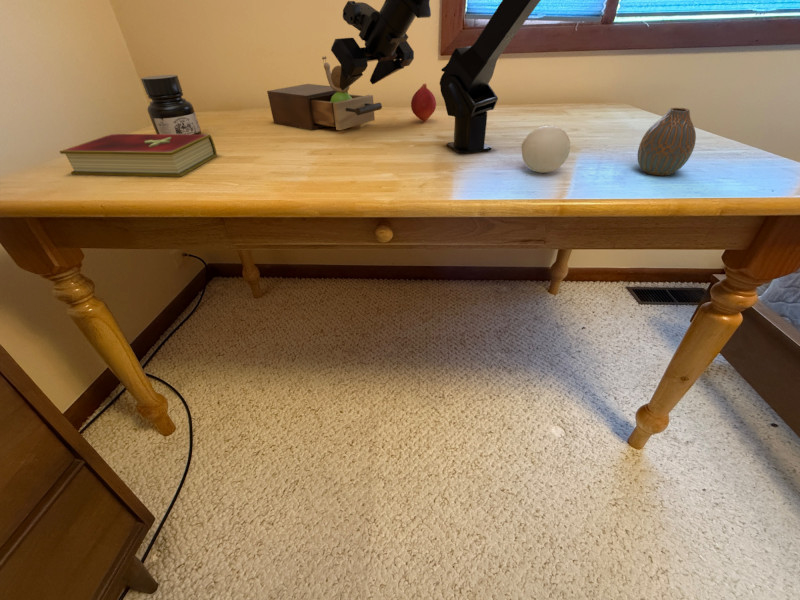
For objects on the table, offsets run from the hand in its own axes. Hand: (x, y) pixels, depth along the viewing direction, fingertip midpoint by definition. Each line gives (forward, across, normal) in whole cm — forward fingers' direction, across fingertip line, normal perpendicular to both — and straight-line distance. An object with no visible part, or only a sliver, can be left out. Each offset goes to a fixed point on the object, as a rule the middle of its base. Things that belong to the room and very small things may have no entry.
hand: (357, 85), depth 81 cm
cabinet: (+18, 0, -6) cm, 19 cm away
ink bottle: (+28, +27, -15) cm, 41 cm away
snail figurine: (+9, 0, +1) cm, 9 cm away
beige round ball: (-25, +5, +38) cm, 45 cm away
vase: (-35, -4, +48) cm, 60 cm away
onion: (+1, -14, +12) cm, 18 cm away
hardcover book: (+18, +40, -5) cm, 44 cm away
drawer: (+9, 0, +2) cm, 10 cm away
